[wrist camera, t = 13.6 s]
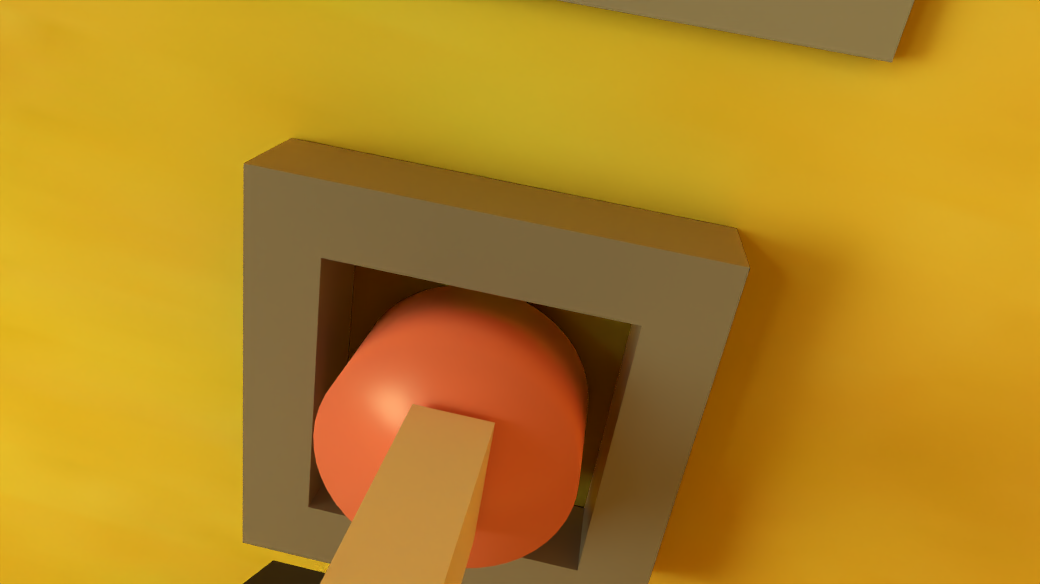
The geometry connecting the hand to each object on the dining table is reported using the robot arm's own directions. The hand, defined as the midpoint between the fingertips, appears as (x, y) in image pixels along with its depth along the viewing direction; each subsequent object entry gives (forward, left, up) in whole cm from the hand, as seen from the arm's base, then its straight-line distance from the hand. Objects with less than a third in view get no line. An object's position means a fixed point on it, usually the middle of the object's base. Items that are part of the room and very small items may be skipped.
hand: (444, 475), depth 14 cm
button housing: (0, 0, -4) cm, 4 cm away
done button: (0, 0, -3) cm, 3 cm away
